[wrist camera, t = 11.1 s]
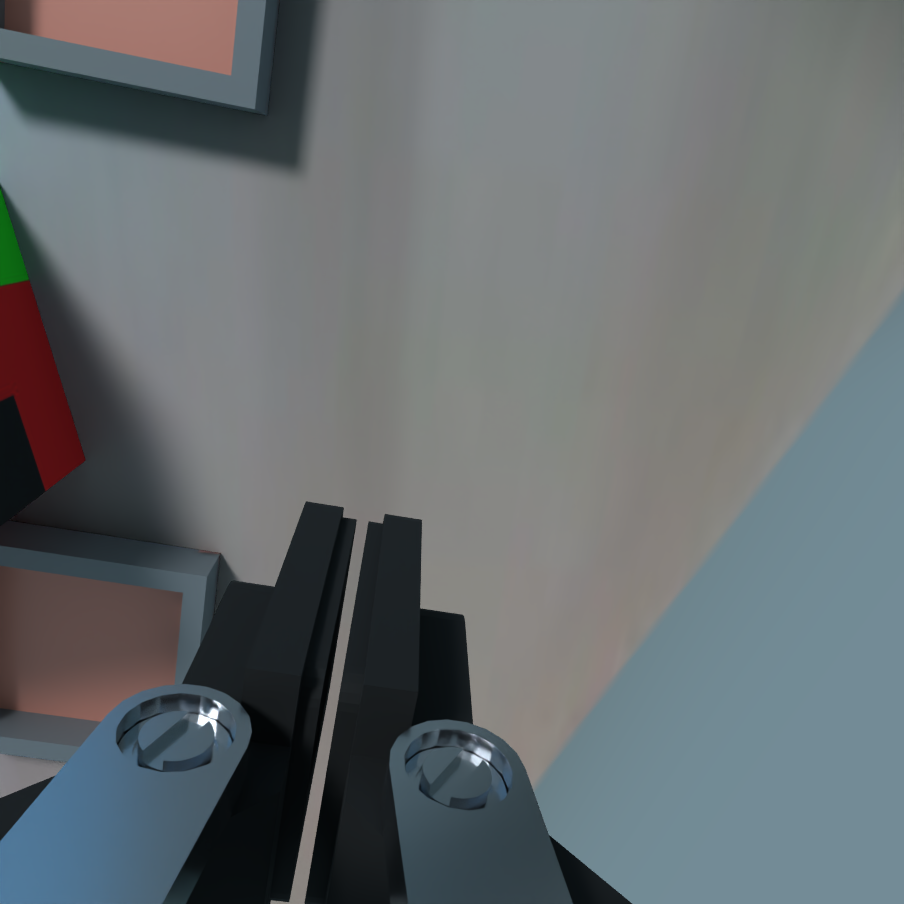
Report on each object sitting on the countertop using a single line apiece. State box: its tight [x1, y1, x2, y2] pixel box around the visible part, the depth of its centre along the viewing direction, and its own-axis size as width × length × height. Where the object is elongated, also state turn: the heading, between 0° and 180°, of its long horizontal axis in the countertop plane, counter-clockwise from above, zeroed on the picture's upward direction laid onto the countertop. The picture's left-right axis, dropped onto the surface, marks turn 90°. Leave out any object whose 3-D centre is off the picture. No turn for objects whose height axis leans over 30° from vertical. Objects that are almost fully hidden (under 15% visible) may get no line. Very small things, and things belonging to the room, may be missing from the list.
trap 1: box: [0, 521, 221, 762], centre depth 31 cm, size 9×9×2 cm
